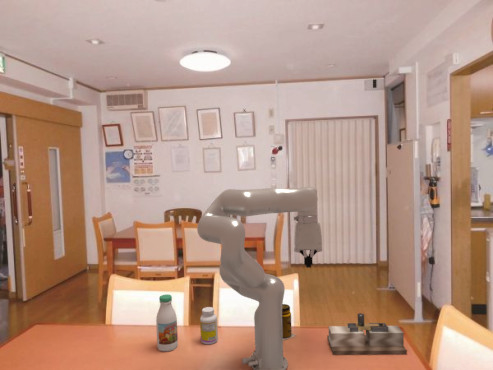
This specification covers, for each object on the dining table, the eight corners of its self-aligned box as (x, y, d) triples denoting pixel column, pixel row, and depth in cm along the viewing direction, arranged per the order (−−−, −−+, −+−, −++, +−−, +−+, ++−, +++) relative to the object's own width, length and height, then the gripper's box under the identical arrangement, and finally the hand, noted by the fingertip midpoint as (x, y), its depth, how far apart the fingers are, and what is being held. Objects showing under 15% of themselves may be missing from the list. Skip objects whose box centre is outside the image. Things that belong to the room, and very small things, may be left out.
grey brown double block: (333, 354, 135) (332, 337, 135) (327, 339, 147) (327, 322, 147) (406, 354, 134) (406, 336, 134) (395, 338, 146) (394, 322, 146)
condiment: (296, 336, 151) (295, 306, 150) (279, 342, 146) (278, 312, 145) (284, 329, 157) (283, 301, 156) (268, 335, 152) (267, 306, 152)
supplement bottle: (205, 336, 153) (204, 305, 152) (220, 338, 151) (219, 306, 150) (197, 343, 147) (196, 311, 146) (213, 346, 145) (212, 313, 144)
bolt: (357, 330, 139) (357, 315, 139) (356, 327, 142) (356, 313, 141) (379, 330, 139) (379, 315, 139) (377, 327, 141) (377, 313, 141)
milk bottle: (153, 349, 143) (150, 298, 142) (166, 340, 150) (164, 291, 149) (169, 353, 140) (166, 301, 138) (182, 344, 146) (179, 294, 145)
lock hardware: (350, 332, 139) (349, 327, 139) (347, 327, 143) (347, 323, 143) (388, 331, 138) (388, 327, 138) (384, 326, 142) (384, 322, 142)
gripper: (288, 221, 141) (289, 269, 142) (328, 220, 140) (329, 269, 141) (287, 218, 148) (288, 264, 149) (325, 217, 147) (326, 263, 149)
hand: (308, 266), depth 145 cm, fingers closed
